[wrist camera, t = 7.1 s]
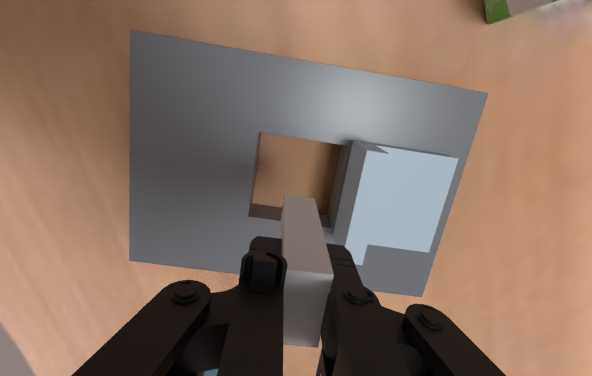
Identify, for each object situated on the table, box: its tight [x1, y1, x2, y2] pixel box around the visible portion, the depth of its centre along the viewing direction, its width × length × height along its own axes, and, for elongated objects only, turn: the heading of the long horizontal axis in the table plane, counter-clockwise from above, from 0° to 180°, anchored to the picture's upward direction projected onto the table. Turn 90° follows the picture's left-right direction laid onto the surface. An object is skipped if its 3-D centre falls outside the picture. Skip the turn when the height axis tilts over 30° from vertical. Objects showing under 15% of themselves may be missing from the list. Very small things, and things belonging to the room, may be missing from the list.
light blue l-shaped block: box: [333, 141, 458, 265], centre depth 23 cm, size 8×8×4 cm
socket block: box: [129, 30, 488, 297], centre depth 26 cm, size 18×26×3 cm
